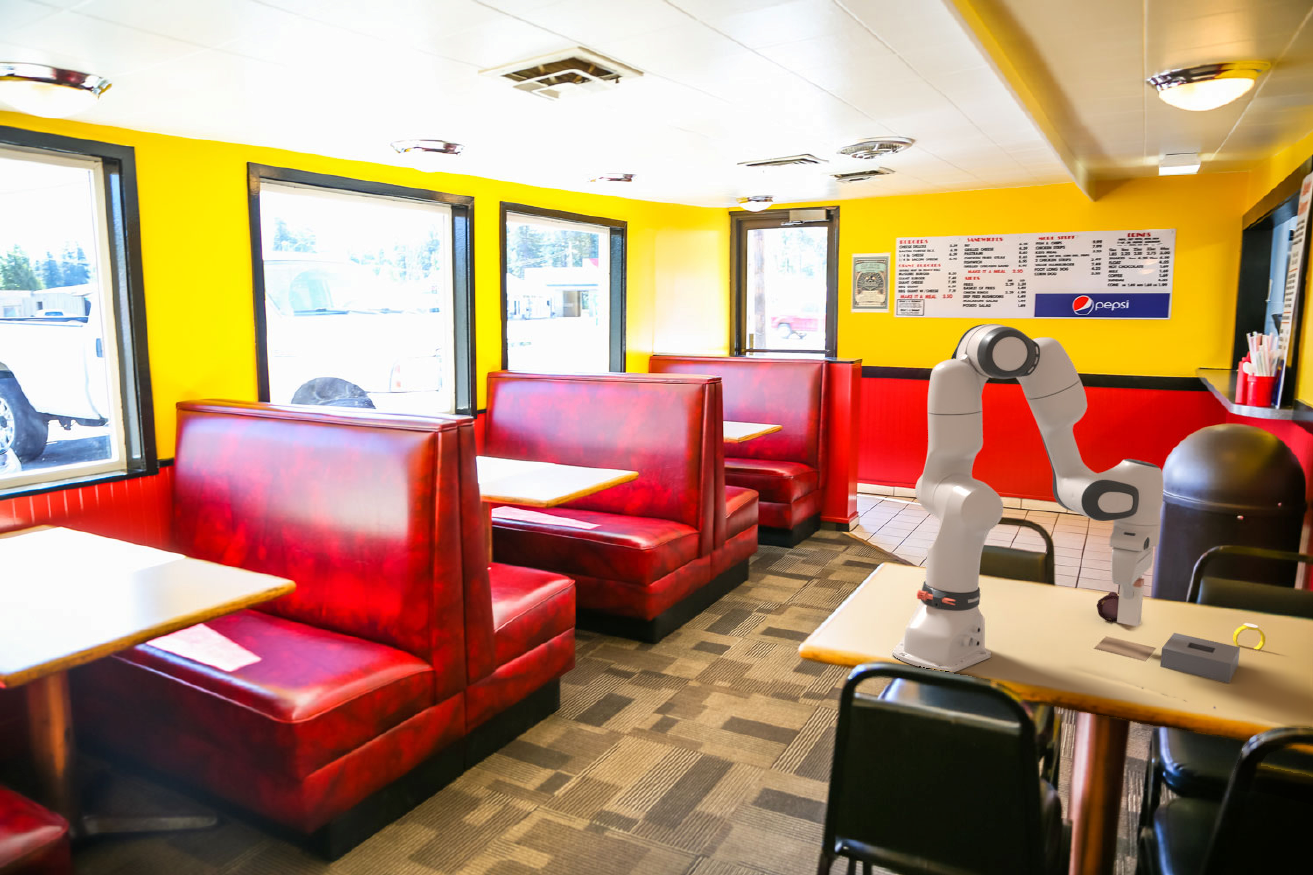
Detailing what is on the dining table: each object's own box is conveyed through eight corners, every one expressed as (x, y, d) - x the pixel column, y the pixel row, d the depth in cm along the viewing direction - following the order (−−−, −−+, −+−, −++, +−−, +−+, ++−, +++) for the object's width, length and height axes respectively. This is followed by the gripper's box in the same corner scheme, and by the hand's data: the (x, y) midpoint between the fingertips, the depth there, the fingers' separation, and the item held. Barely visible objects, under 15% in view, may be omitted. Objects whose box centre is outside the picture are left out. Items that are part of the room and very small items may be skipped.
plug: (1137, 626, 182) (1141, 582, 181) (1116, 622, 185) (1120, 578, 183) (1140, 622, 184) (1144, 578, 183) (1120, 618, 187) (1123, 575, 186)
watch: (1258, 650, 189) (1263, 625, 188) (1264, 654, 186) (1270, 629, 185) (1229, 646, 190) (1234, 620, 189) (1235, 650, 187) (1240, 625, 186)
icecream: (1139, 607, 196) (1130, 594, 210) (1105, 595, 199) (1099, 583, 212) (1128, 635, 197) (1120, 620, 211) (1094, 622, 200) (1089, 608, 213)
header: (1228, 687, 168) (1230, 663, 167) (1159, 670, 176) (1162, 647, 175) (1237, 669, 177) (1240, 647, 176) (1171, 654, 185) (1174, 632, 184)
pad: (1144, 665, 178) (1145, 660, 178) (1093, 652, 185) (1093, 648, 185) (1155, 652, 186) (1155, 647, 186) (1105, 640, 192) (1106, 636, 192)
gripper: (1131, 523, 192) (1126, 581, 193) (1107, 540, 176) (1102, 603, 178) (1163, 527, 187) (1157, 587, 189) (1141, 545, 172) (1135, 610, 174)
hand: (1130, 595), depth 184 cm, fingers closed on plug, 3 cm apart
